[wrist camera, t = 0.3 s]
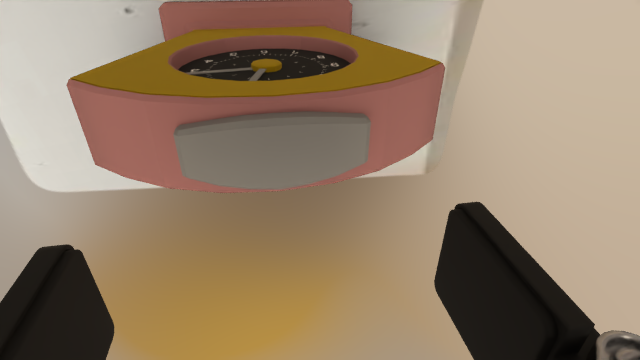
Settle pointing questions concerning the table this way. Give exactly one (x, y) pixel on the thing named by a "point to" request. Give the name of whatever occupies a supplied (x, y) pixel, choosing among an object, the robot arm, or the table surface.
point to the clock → (257, 99)
